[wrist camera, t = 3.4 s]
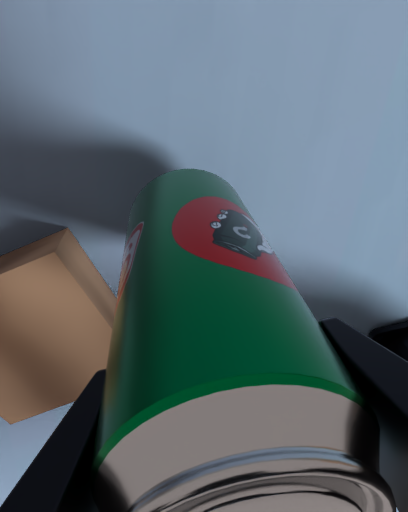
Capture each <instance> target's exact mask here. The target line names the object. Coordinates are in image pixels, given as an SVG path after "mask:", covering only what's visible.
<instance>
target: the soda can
mask: <svg viewBox="0 0 408 512" xmlns="http://www.w3.org/2000/svg"><path fill="white" fill-rule="evenodd" d="M379 464H380V426H379V423H378V420H377V416H376V414H375V412H374V411H373V409H372V408H371V406H370V404H369V403H368V401H367V400H366V398H365V396H364V395H363V393H362V392H361V390H360V388H359V387H358V385H357V384H356V382H355V381H354V379H353V377H352V376H351V374H350V373H349V371H348V369H347V368H346V366H345V365H344V363H343V361H342V360H341V358H340V357H339V355H338V353H337V352H336V350H335V349H334V347H333V345H332V344H331V342H330V341H329V339H328V338H327V336H326V334H325V333H324V331H323V330H322V328H321V326H320V325H319V323H318V322H317V320H316V318H315V317H314V315H313V314H312V312H311V310H310V309H309V307H308V306H307V304H306V302H305V301H304V299H303V298H302V296H301V294H300V293H299V291H298V290H297V288H296V287H295V285H294V283H293V282H292V280H291V279H290V277H289V275H288V274H287V272H286V271H285V269H284V267H283V266H282V264H281V263H280V261H279V259H278V258H277V256H276V255H275V253H274V251H273V250H272V248H271V247H270V245H269V244H268V242H267V240H266V239H265V237H264V236H263V234H262V232H261V231H260V229H259V228H258V226H257V224H256V223H255V221H254V220H253V218H252V216H251V215H250V213H249V212H248V210H247V208H246V207H245V205H244V204H243V202H242V201H241V199H240V197H239V196H238V194H237V193H236V191H235V190H234V189H233V188H232V187H231V185H230V184H229V183H227V182H226V181H225V180H223V179H222V178H220V177H219V176H217V175H215V174H213V173H210V172H207V171H204V170H198V169H180V170H174V171H171V172H168V173H165V174H163V175H161V176H159V177H157V178H155V179H154V180H152V181H151V182H150V183H148V184H147V185H146V186H145V187H144V188H143V189H142V190H141V192H140V193H139V194H138V196H137V197H136V199H135V201H134V203H133V205H132V208H131V211H130V215H129V222H128V228H127V235H126V241H125V248H124V255H123V261H122V268H121V274H120V281H119V288H118V294H117V301H116V307H115V314H114V321H113V327H112V334H111V341H110V347H109V354H108V360H107V367H106V374H105V380H104V387H103V393H102V400H101V407H100V413H99V420H98V426H97V433H96V440H95V446H94V453H93V459H92V466H91V475H90V488H91V492H92V496H93V500H94V502H95V504H96V506H97V508H98V510H99V512H396V502H395V499H394V495H393V492H392V489H391V487H390V486H389V484H388V483H387V482H386V481H385V479H384V478H383V477H382V476H381V474H380V467H379Z"/></svg>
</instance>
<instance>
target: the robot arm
mask: <svg viewBox="0 0 408 512" xmlns="http://www.w3.org/2000/svg"><path fill="white" fill-rule="evenodd" d="M318 323H319V325H320V326H321V328H322V330H323V331H324V333H325V334H326V336H327V338H328V339H329V341H330V342H331V344H332V345H333V347H334V349H335V350H336V352H337V353H338V355H339V357H340V358H341V360H342V361H343V363H344V365H345V366H346V368H347V369H348V371H349V373H350V374H351V376H352V377H353V379H354V381H355V382H356V384H357V385H358V387H359V388H360V390H361V392H362V393H363V395H364V396H365V398H366V400H367V401H368V403H369V404H370V406H371V408H372V409H373V411H374V412H375V414H376V416H377V420H378V423H379V426H380V464H379V467H380V474H381V476H382V477H383V478H384V479H385V481H386V482H387V483H388V484H389V486H390V487H391V489H392V492H393V495H394V499H395V502H396V507H397V509H398V511H399V512H408V322H405V323H400V324H396V325H392V326H387V327H383V328H378V329H375V330H373V331H372V332H371V333H370V335H369V337H367V336H366V335H364V334H362V333H361V332H359V331H358V330H356V329H354V328H353V327H351V326H350V325H348V324H346V323H345V322H343V321H341V320H340V319H338V318H336V317H331V318H326V319H322V320H320V321H319V322H318ZM105 374H106V369H102V370H98V371H97V372H96V373H95V374H94V375H93V377H92V378H91V380H90V381H89V383H88V384H87V385H86V387H85V388H84V390H83V391H82V392H81V394H80V395H79V397H78V398H77V399H76V401H75V402H74V404H73V405H72V407H71V408H70V409H69V411H68V412H67V414H66V415H65V416H64V418H63V419H62V421H61V422H60V423H59V425H58V426H57V428H56V429H55V431H54V432H53V433H52V435H51V436H50V438H49V439H48V440H47V442H46V443H45V445H44V446H43V447H42V449H41V450H40V452H39V453H38V455H37V456H36V457H35V459H34V460H33V462H32V463H31V464H30V466H29V467H28V469H27V470H26V471H25V473H24V474H23V476H22V477H21V479H20V480H19V481H18V483H17V484H16V486H15V487H14V488H13V490H12V491H11V493H10V494H9V495H8V497H7V498H6V500H5V501H4V503H3V504H2V505H1V507H0V512H99V510H98V508H97V506H96V504H95V502H94V500H93V496H92V492H91V488H90V475H91V466H92V459H93V453H94V446H95V440H96V433H97V426H98V420H99V413H100V407H101V400H102V393H103V387H104V380H105Z"/></svg>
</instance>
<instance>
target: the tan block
mask: <svg viewBox="0 0 408 512" xmlns="http://www.w3.org/2000/svg"><path fill="white" fill-rule="evenodd" d="M116 301H117V298H116V297H115V295H114V294H113V293H112V291H111V290H110V288H109V287H108V285H107V284H106V282H105V281H104V279H103V278H102V276H101V275H100V274H99V272H98V271H97V269H96V268H95V266H94V265H93V263H92V262H91V260H90V259H89V257H88V256H87V255H86V253H85V252H84V250H83V249H82V247H81V246H80V244H79V243H78V241H77V240H76V239H75V237H74V236H73V234H72V233H71V231H70V230H69V228H66V229H64V230H61V231H59V232H56V233H54V234H52V235H49V236H47V237H45V238H42V239H40V240H38V241H35V242H33V243H31V244H28V245H26V246H23V247H21V248H19V249H16V250H14V251H12V252H9V253H7V254H5V255H2V256H0V416H1V417H2V418H3V419H4V420H6V421H7V422H8V423H9V424H13V423H16V422H19V421H22V420H24V419H27V418H30V417H33V416H35V415H38V414H41V413H44V412H46V411H49V410H52V409H54V408H57V407H60V406H63V405H65V404H68V403H71V402H74V401H76V399H77V398H78V397H79V395H80V394H81V392H82V391H83V390H84V388H85V387H86V385H87V384H88V383H89V381H90V380H91V378H92V377H93V375H94V374H95V373H96V372H97V371H98V370H102V369H106V367H107V360H108V354H109V347H110V341H111V334H112V327H113V321H114V314H115V307H116Z"/></svg>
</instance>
